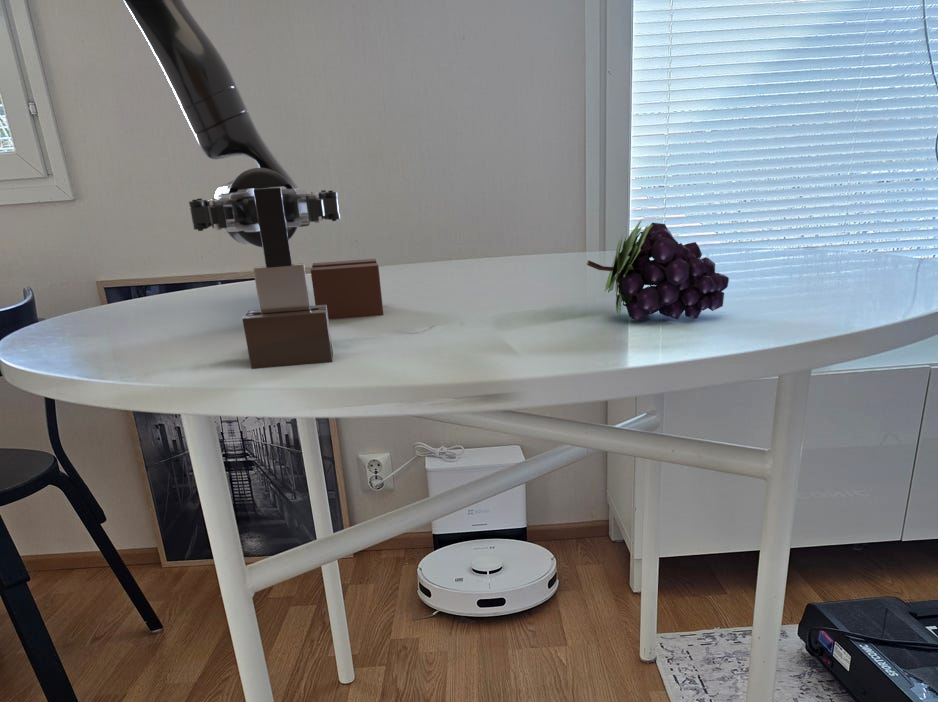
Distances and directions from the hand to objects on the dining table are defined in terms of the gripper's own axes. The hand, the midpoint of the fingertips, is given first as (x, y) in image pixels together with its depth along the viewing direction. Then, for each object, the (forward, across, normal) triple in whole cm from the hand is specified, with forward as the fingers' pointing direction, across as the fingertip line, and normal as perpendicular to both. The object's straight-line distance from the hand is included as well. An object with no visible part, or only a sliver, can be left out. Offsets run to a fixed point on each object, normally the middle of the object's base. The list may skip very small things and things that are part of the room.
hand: (268, 212), depth 79 cm
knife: (+8, 0, +12) cm, 14 cm away
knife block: (+8, 0, +13) cm, 15 cm away
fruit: (+1, +39, +13) cm, 41 cm away
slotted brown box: (-12, +8, +13) cm, 19 cm away
